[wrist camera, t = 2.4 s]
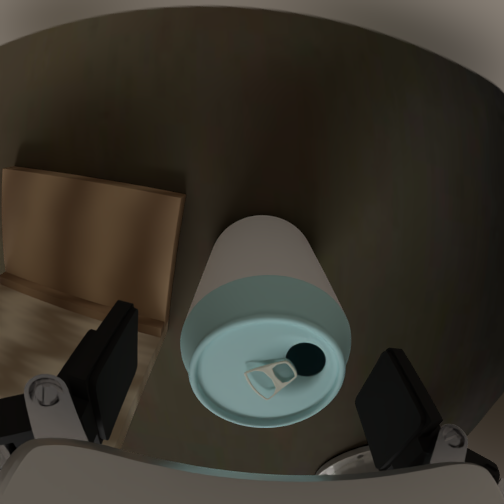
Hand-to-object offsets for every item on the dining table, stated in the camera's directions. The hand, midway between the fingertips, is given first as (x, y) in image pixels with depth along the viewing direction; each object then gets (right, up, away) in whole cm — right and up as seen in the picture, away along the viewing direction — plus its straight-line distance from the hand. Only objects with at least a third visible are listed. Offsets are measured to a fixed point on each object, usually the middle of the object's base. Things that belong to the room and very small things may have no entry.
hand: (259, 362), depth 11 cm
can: (0, +3, +11) cm, 12 cm away
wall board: (-14, +4, +11) cm, 18 cm away
